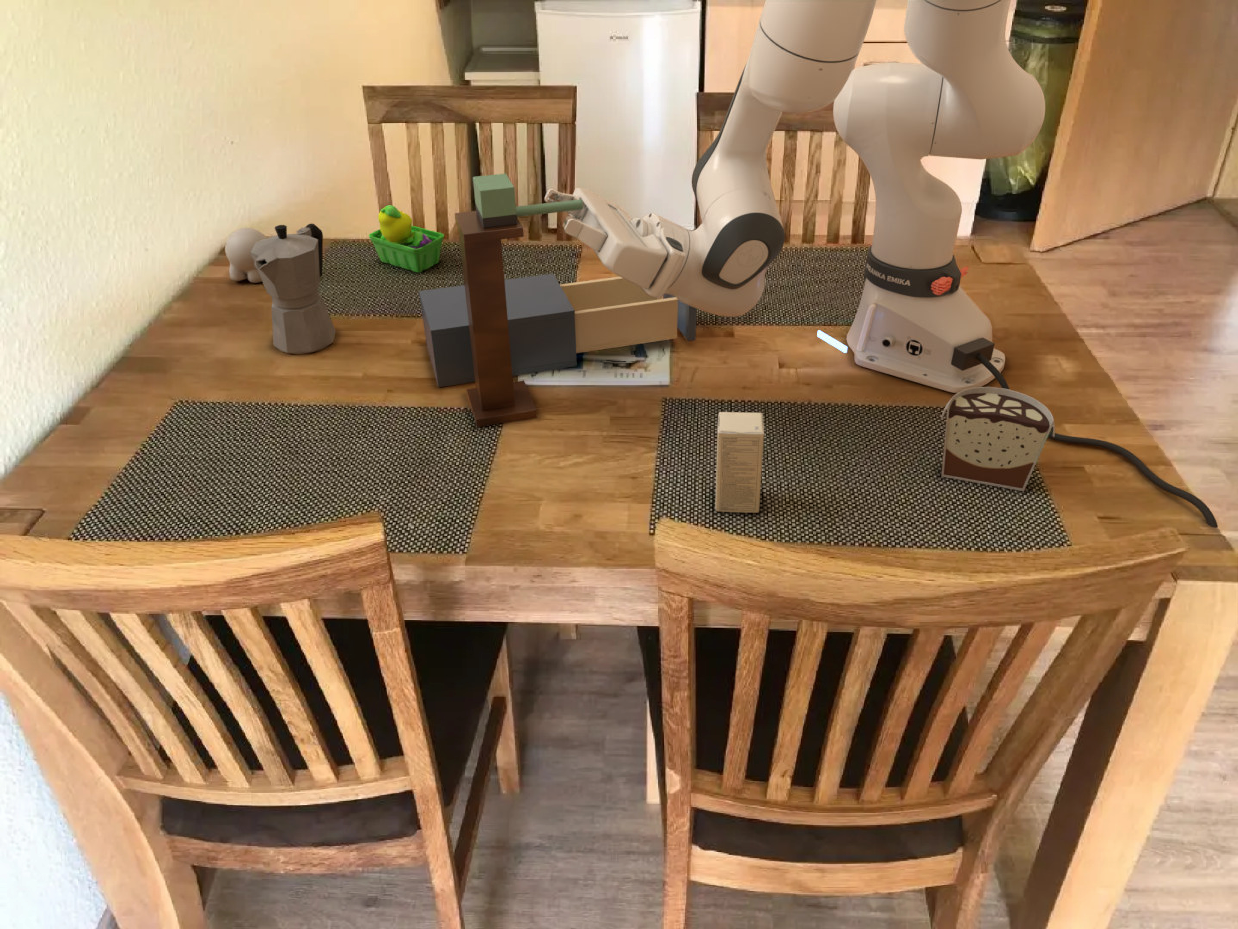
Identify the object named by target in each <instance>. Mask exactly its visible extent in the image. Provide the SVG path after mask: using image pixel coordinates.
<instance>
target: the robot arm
mask: <svg viewBox="0 0 1238 929" xmlns="http://www.w3.org/2000/svg"><path fill="white" fill-rule="evenodd" d="M1011 1H1012V0H907V5H906V11H905V18H904V24H903V31H904V36H905V41H906V43H907V45H908V48H909V49H910V51H911V52H912V54H913V55H914V57H915V58H916V59H917V60H918V63H917V62H916V63H915V62H900V61H899V62H898V61H897V62H895V61H890V62H889V61H888V62H881V63H874V64H868V65H861V66H856V62H857V61H858V57H859V55H860V52H861V50H862V47H863V44H864V42H865V39H866V36H867V33H868V31H869V28H870V25H871V21H872V17H873V15H874V11H875V7H876V3H877V0H765V1H764V4H763V7H762V10H761V14H760V17H759V20H758V24H757V27H756V30H755V34H754V37H753V41H752V44H751V48H750V52H749V56H748V59H747V60H746V63H745V65H744V68H743V70H742V72H741V75H740V77H739V79H738V82H737V85H736V87H735V90H734V93H733V96H732V98H731V100H730V103H729V106H728V109H727V112H726V114H725V116H724V119H723V122H722V124H721V127H720V129H719V132H718V134H717V135H716V136H715V139H714V140H713V142H712V143H711V144H710V145H709V147H708V148H707V149H706V151H704V153H703V154H702V155H701V157H700V158H699V159H698V161H697V162H696V164H695V166H694V168H693V171H692V175H691V189H692V192H693V194H694V197H695V200H696V203H697V206H698V208H699V209H698V210H699V213H700V218H701V219H700V220H701V223H700V225H699V226H698V227H697V228H696V229H693V230H691V229H688V228H686V227H684V226H682V225H679V224H677V223H676V222H673V221H671V220H669V219H667V218H665V217H663V216H660V215H658V214H656V213H653V212H652V213H647V214H646V215H644V216H643V217H641V218H640V217H635V218H632V217H631V216H630V214H629V213H628V212H627V211H626V210H625V209H623V208H622V207H621V206H619V205H617V204H615V203H614V202H612V201H610V200H608V199H606V198H605V197H602V196H600V195H598V194H596V193H594V192H592V191H591V190H588V189H587V188H583V187H576V188H575V189H574V191H573V193H572V194H571V193H564V192H561V191H558V190H556V189H554V188H549V189H548V190H547V192H546V193H545V196H544V202H545V203H553V202H561V201H570V200H579V199H581V200H582V202H583V209H582V210H574V211H565V212H566V213H567V214H568V215H567V216H565V218H564V221H563V223H562V225H561V227H562V229H563V230H564V232H565V234H567V235H569V236H571V237H573V238H576V239H577V240H579V241H580V242H582V243H583V244H584V245H586V246H587V247H589V248H590V249H592V250H593V251H594V254H595V255H596V256H597V258H598V259H599V260H600V262H601V263H602V265H603V266H604V267H605V268H607V269H608V271H610V272H611V273H613V274H614V275H616V276H617V277H622V278H624V279H626V280H627V281H629V282H631V283H633V284H635V285H637V286H639V287H641V288H642V289H643V290H644V291H645V292H646V293H647V294H648V295H650V296H652V297H654V298H656V299H658V300H659V299H663V295H664V294H671V295H673V296H675V297H676V298H677V299H678V300H679V301H681V302H682V303H684V304H687V305H689V306H691V307H694V308H696V309H697V310H699V311H701V312H702V311H703V312H705V313H708V314H710V315H713V316H714V315H715V316H720V317H728V318H729V317H730V318H731V317H732V318H735V317H740V316H743V315H746V313H748V312H750V311H751V310H752V309H753V308H754V307H755V306H756V305H757V304H758V302H759V301H760V299H761V298H762V296H763V293H764V290H765V286H766V278H765V277H766V273H767V270H768V268H769V266H770V265H771V264H772V263H773V261H775V260H776V259H777V257H778V256H779V255H780V253H781V251H782V249H783V247H784V244H785V240H786V239H785V238H786V236H785V235H786V234H785V233H786V232H785V229H784V224H783V221H782V217H781V214H780V209H779V206H778V204H777V201H776V197H775V193H774V189H773V187H772V186H773V185H772V183H771V178H770V172H769V168H768V167H769V166H768V163H767V152H768V151H767V150H768V147H769V145H770V143H771V140H772V138H773V135H774V133H775V131H776V129H777V127H778V124H779V122H780V120H781V117H782V115H783V113H788V114H808V113H812V112H816V111H818V110H821V109H824V108H825V107H827V106H829V105H830V104H832V103H833V107H832V116H833V122H834V126H835V129H836V132H837V133H838V135H839V137H840V139H841V140H842V141H843V142H844V143H845V145H847V146H848V147H849V148H850V149H851V150H853V151H854V153H855V154H856V155H857V156H858V157H859V158H860V160H861V161H862V162H863V164H864V166H865V167H866V169H867V171H868V173H869V176H870V179H871V182H872V184H873V190H874V197H875V206H874V207H875V209H874V225H873V233H872V241H871V245H870V246H869V247H868V250H867V254H866V259H865V265H864V271H863V280H864V285H863V289H862V290H863V291H862V294H861V298H860V301H859V305H858V307H857V311H856V314H855V317H854V319H853V322H852V323H851V326H850V328H849V330H848V332H847V333H846V338H845V340H846V343H847V345H845V344H843V343H842V342H840V341H838V340H837V339H835V338H834V337H832V336H830V335H829V334H827V333H825V332H823V331H821V330H820V329H819V330H817V333H816V334H817V335H816V336H817V338H819V339H821V340H823V341H824V342H826V343H827V344H829V345H830V346H833V347H834V348H836V349H838V350H839V351H841V352H842V353H844V354H846V353H848V347H849V348H850V350H851V351H852V352H853V354H854V356H853V360H854V363H855V364H856V365H858V366H859V367H863V368H866V369H870V370H872V371H876V372H880V373H883V374H887V375H891V376H894V377H896V378H899V379H900V378H901V379H904V380H906V381H907V380H908V381H911V382H914V383H917V384H920V385H924V386H928V387H931V388H935V389H938V390H941V391H945V392H949V393H952V394H953V393H954V394H957V393H959V392H960V391H963V390H966V389H970V388H976V387H985V386H986V385H987V384H989V383H990V382H992V381H993V380H996V381H997V382H998V384H999V385H1000V388H1004V389H1009V390H1011V389H1010V387H1009V385H1008V382H1007V380H1006V379H1005V377H1004V376H1003V374H1002V371H1003V370H1004V368H1005V365H1006V355H1005V353H1004V352H1002V351H1000V350H999V349H997V348H995V345H996V343H995V342H993V325H992V323H991V322H992V321H991V320H990V318H989V317H988V316H987V315H986V314H985V313H984V312H983V310H981V309H980V307H979V306H978V305H977V304H976V302H974V300H973V299H972V298H971V297H970V295H969V294H968V293H967V292H966V291H965V289H964V288H963V287H962V286H961V279H962V278H963V277H965V276H966V275H967V274H968V273H969V272H968V270H969V268H970V267H969V265H966V266H965V267H963V268H959V267H958V264H957V260H956V257H955V254H954V252H955V248H956V242H957V237H958V232H959V227H960V222H961V217H962V214H963V207H962V202H961V199H960V197H959V195H958V193H957V192H956V191H955V190H954V189H953V188H952V187H951V186H949V184H947V183H946V182H945V181H943V180H942V179H940V178H938V177H936V176H934V175H933V174H931V173H930V172H929V171H927V169H926V168H925V167H924V165H923V163H922V159H923V158H925V157H940V158H941V157H942V158H953V159H954V158H955V159H968V160H969V159H970V160H990V159H991V160H992V159H999V158H1007V157H1014V156H1019V155H1020V154H1022V153H1023V152H1024V151H1025V150H1027V149H1028V148H1029V147H1030V146H1031V145H1032V143H1033V142H1034V141H1035V140H1036V138H1037V137H1038V135H1039V134H1040V131H1041V129H1042V127H1043V123H1044V121H1045V116H1046V99H1045V95H1044V92H1043V89H1042V87H1041V84H1040V83H1039V82H1038V81H1037V79H1036V78H1035V77H1034V75H1032V74H1031V73H1028V72H1027V71H1026V70H1024V69H1023V68H1022V67H1021V66H1020V65H1019V64H1018V63H1017V62H1016V60H1015V59H1014V58H1013V56H1012V54H1011V52H1010V51H1009V48H1008V44H1007V41H1006V40H1007V38H1006V31H1007V30H1006V29H1007V28H1006V27H1007V23H1008V17H1009V16H1008V15H1009V9H1010V6H1011ZM919 62H920V63H919ZM855 66H856V67H855ZM1047 439H1050V440H1053V441H1057V442H1061V443H1065V444H1066V443H1067V444H1072V445H1081V446H1082V445H1083V446H1089V447H1091V446H1092V447H1096V448H1102V449H1106V450H1109V451H1112V452H1114V453H1116V454H1118V455H1120V456H1121V457H1124V458H1125V459H1126V460H1128V461H1129V462H1130V463H1132V465H1134V466H1135V467H1136V468H1137V469H1138V470H1139V471H1140V473H1141V474H1142V475H1143V476H1144V477H1145V478H1146V479H1147V480H1149V481H1150V482H1151V483H1153V485H1155V486H1157V487H1158V488H1160V489H1162V490H1163V491H1165V492H1167V493H1169V494H1171V495H1174V496H1177V497H1179V498H1180V499H1182V500H1185V501H1187V502H1189V503H1190V504H1192V505H1193V506H1194V507H1195V508H1197V509H1198V511H1199V512H1200V513H1201V514H1202V516H1203V517H1204V519H1205V521H1206V523H1207V525H1208V526H1209V527H1211V528H1215V529H1217V528H1218V527H1219V525H1218V521H1217V520H1216V517H1215V515H1214V514H1213V512H1212V511H1211V509H1210V508H1209V506H1207V504H1206V503H1205V502H1204V501H1203V500H1202V499H1200V498H1198V496H1196V495H1194V494H1193V493H1190V492H1188V491H1186V490H1184V489H1181V488H1179V487H1177V486H1175V485H1172V484H1170V483H1169V482H1166V481H1165V480H1163V479H1162V478H1161V477H1159V476H1158V475H1157V474H1155V473H1154V472H1153V471H1152V470H1151V469H1150V468H1149V467H1148V466H1147V465H1146V463H1144V462H1143V460H1141V459H1140V458H1139V457H1138V456H1137V455H1135V454H1134V453H1133V452H1131V451H1130V450H1128V449H1126V448H1124V447H1122V446H1120V445H1118V444H1115V443H1112V442H1109V441H1106V440H1103V439H1102V440H1101V439H1098V438H1097V439H1096V438H1090V437H1081V436H1072V435H1066V434H1061V433H1057V432H1055V437H1053V435H1052V431H1051V430H1050V433H1049V435H1048V437H1047Z"/></svg>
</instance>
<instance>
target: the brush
mask: <svg viewBox="0 0 1238 929" xmlns="http://www.w3.org/2000/svg"><path fill="white" fill-rule="evenodd" d="M472 182H473V193H474V203H475V211H476V214H477V216H478V218H479V220H480V222H481V224H482V226H483V228H491V227H499V226H508V225H516V224H517V218H520V217H528V216H529V217H530V216H538V215H545V214H554V213H555V214H556V213H564V212H566V211H574V210H582V209H583V202H582V200H581V199H579V200H570V201H561V202H553V203H546V202H544V203H536V204H527V205H518V206H517V204H516V191H515V190H516V189H515V186H514V185H513V183H512V181H511V179H510V178H509V176H508V175H507V173H497V174H488V175H478V176H473V177H472Z"/></svg>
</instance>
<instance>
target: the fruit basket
mask: <svg viewBox="0 0 1238 929" xmlns="http://www.w3.org/2000/svg"><path fill="white" fill-rule="evenodd" d="M377 216H378V217H377V220H378V223H379V229H377V230H375V231H372V232H370V233H369V234H368V238H369V239H370V242H372V245H373V247H374V248H375V250H376V253H377V256H378V257H379V260H380V262H382V263H385V264H389V265H391V266H395V267H398V268H401V269H405V270H408V271H412V272H413V273H418V274H421V273H422V272H423V271H427V270H428V269H429V268H431V267H433V266H434V265H437V264H439V262H440V258H441V257H440V256H441V249H442V243H443V241H444V236H445V235H444V233H442V232H438V231H435V230H430V229H427V228H423V227H420V226H415V225H413V218H412V217H411V216H410V215H409V214H408V213H406V212H404V211H402V210H399V209H398V208H397V207H396V206H394V205H391V204H388V205H386V206H384V207H383V208H381V209H380V211H379V213H378V215H377Z"/></svg>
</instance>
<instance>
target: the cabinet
mask: <svg viewBox="0 0 1238 929" xmlns="http://www.w3.org/2000/svg"><path fill="white" fill-rule="evenodd" d="M504 280H505V292H506V304H507V316H508V328H509V340H510V352H511V364H512V376H513V377H516V376H521V375H528V374H535V373H541V372H547V371H555V370H562V369H567V368H574V367H577V366H578V362H577V358H578V357H577V353H576V333H575V310H574V309H573V307H572V305H571V303H570V302H569V300H568V298H567V296H566V295H565V293H564V291H563V290H562V288H561V286H560V284H561V283H560V282H559V281H558V279H557V277H556V275H555V273H547V274H539V275H531V276H524V277H515V278H510V279H509V278H508V279H504ZM418 294H419V295H418V296H419V301H420V308H421V316H422V323H423V330H424V337H425V343H426V348H427V353H428V356H429V359H430V360H429V361H430V363H431V366H432V370H433V374H434V377H435V380H436V384H437V388H443V387H449V386H457V385H463V384H470V383H475V377H474V368H473V359H472V350H471V341H470V331H469V322H468V313H467V304H466V295H465V286H464V284H463V285H454V286H447V287H439V288H432V289H424V290H419V291H418Z"/></svg>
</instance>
